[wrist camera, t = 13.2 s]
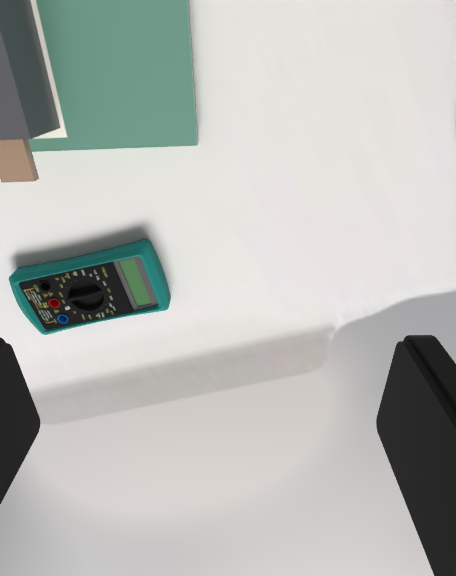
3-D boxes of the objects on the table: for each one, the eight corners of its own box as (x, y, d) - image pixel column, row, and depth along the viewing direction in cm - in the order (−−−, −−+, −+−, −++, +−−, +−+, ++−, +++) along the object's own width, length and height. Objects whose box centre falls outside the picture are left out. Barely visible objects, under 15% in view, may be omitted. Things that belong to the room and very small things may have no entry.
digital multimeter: (12, 267, 39) (-2, 281, 36) (151, 235, 37) (147, 248, 35) (46, 324, 42) (35, 340, 40) (174, 297, 41) (171, 312, 38)
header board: (183, -79, 25) (175, -110, 21) (198, 142, 32) (194, 153, 28) (-146, -67, 25) (-221, -95, 21) (-59, 152, 32) (-102, 164, 28)
